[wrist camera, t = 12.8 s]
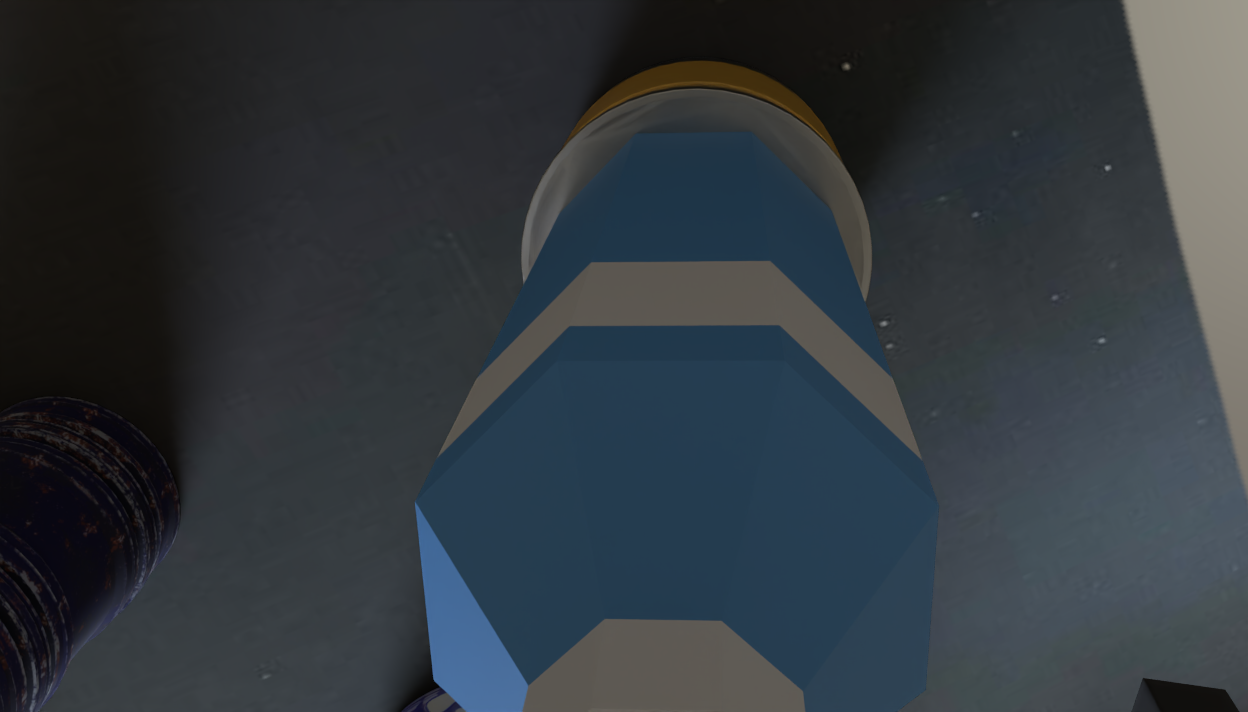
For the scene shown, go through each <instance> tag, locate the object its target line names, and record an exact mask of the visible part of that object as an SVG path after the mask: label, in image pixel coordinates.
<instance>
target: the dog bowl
mask: <svg viewBox="0 0 1248 712" xmlns="http://www.w3.org/2000/svg"><path fill="white" fill-rule="evenodd" d="M401 712H466V711H465V710H464V709H463V708H462V707H461V706H460V705H459V704H458V703H457V702H456V701H455V700H454V699H453V698H452V697H451V696H450V695H449V694H448V693H447V692H446V691H445V690H443V689H442V688H441V687H439V688H436V689H434V690H432V691H430V692H428V693H426V694H425V695H423V696H421V697H419V698H418V699H416V700H415V701H414V702H412V703H411V704H409V705H408V706H407V707H406V708H405V709H403V710H402V711H401Z"/></svg>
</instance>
